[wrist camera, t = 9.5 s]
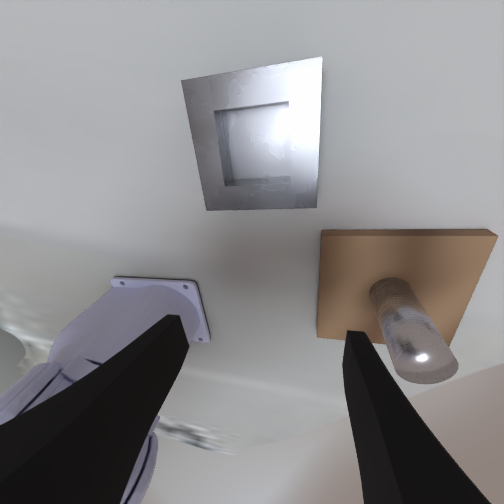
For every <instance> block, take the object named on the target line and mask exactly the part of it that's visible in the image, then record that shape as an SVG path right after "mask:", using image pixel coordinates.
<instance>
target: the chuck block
mask: <svg viewBox="0 0 504 504" xmlns="http://www.w3.org/2000/svg"><path fill="white" fill-rule="evenodd" d="M321 81H322V57H318V58H312V59H306V60H300V61H294V62H288V63H282V64H276V65H270V66H264V67H258V68H252V69H246V70H240V71H235V72H229V73H223V74H217V75H211V76H205V77H199V78H193V79H187V80H181V83H182V88H183V93H184V98H185V103H186V108H187V113H188V118H189V123H190V129H191V134H192V139H193V144H194V149H195V154H196V159H197V164H198V169H199V175H200V180H201V185H202V190H203V195H204V200H205V205H206V210H207V211H214V210H254V209H294V208H317V188H318V161H319V134H320V108H321Z"/></svg>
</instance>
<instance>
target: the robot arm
mask: <svg viewBox="0 0 504 504" xmlns="http://www.w3.org/2000/svg"><path fill="white" fill-rule="evenodd" d="M110 283H111V285H112V287H113V288H111V289H110V290H109V291H108V292H107V293H105V294H104V295H103V296H102V297H101V298H99V299H98V300H97V301H96V302H95V303H94V304H92V305H91V306H90V307H89V308H88V309H87V310H85V311H84V312H83V313H82V314H81V315H79V316H78V317H77V318H76V319H75V320H74V321H72V322H71V323H70V324H69V325H68V326H67V327H66V328H65V329H64V330H63V331H62V332H61V333H60V334H59V335H58V337H57V338H56V340H55V342H54V344H53V345H52V348H51V350H50V353H49V356H48V362H47V363H40V364H38V365H36V366H35V367H34V368H32V369H31V370H30V371H29V372H27V373H26V374H25V375H24V376H23V377H21V378H20V379H19V380H18V381H17V382H16V383H14V384H13V385H12V386H11V387H10V388H9V389H7V390H6V391H5V392H4V393H3V394H2V395H1V396H0V504H140V503H141V501H142V499H143V497H144V495H145V493H146V491H147V489H148V486H149V484H150V481H151V478H152V475H153V472H154V469H155V465H156V458H157V451H158V439H157V436H156V434H155V433H154V432H153V431H154V429H155V427H156V425H157V423H158V421H159V419H160V416H159V415H157V414H158V412H159V410H160V408H161V406H162V404H163V402H164V401H165V399H166V397H167V395H168V393H169V391H170V389H171V387H172V385H173V383H174V381H175V379H176V377H177V375H178V373H179V371H180V369H181V367H182V365H183V362H184V360H185V357H186V354H187V351H188V349H189V345H190V343H191V341H194V342H203V343H208V342H209V341H210V334H209V330H208V326H207V323H206V319H205V315H204V311H203V307H202V303H201V299H200V295H199V291H198V287H197V284H196V283H195V282H193V281H184V280H164V279H144V278H124V277H113V278H112V279H111V280H110ZM186 285H187V286H188V287H187V286H186ZM342 367H343V378H344V388H345V396H346V401H347V406H348V411H349V417H350V422H351V427H352V431H353V437H354V442H355V447H356V453H357V458H358V463H359V469H360V475H361V482H362V491H363V499H364V504H491V503H490V502H489V501H488V500H487V499H486V497H485V496H484V495H483V494H482V493H481V492H480V490H479V489H478V488H477V487H476V486H475V484H474V483H473V482H472V481H471V480H470V479H469V477H468V476H467V475H466V474H465V473H464V471H462V469H461V468H460V467H459V466H458V464H457V463H456V462H455V461H454V459H453V458H452V457H451V456H450V454H449V453H448V452H447V451H446V450H445V448H444V447H443V446H442V445H441V443H440V442H439V441H438V439H437V438H436V437H435V436H434V434H433V433H432V432H431V430H430V429H429V428H428V427H427V425H426V424H425V423H424V421H423V420H422V418H421V417H420V416H419V414H418V413H417V412H416V410H415V409H414V408H413V406H412V405H411V403H410V402H409V401H408V399H407V398H406V396H405V395H404V393H403V392H402V390H401V389H400V388H399V386H398V385H397V383H396V382H395V380H394V379H393V377H392V376H391V374H390V373H389V371H388V369H387V368H386V366H385V365H384V363H383V361H382V360H381V358H380V357H379V355H378V353H377V352H376V350H375V348H374V346H373V345H372V343H371V341H370V339H369V337H368V336H367V334H366V333H365V332H363V331H352V330H347V334H346V341H345V348H344V356H343V363H342Z"/></svg>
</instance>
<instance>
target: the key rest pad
mask: <svg viewBox="0 0 504 504" xmlns="http://www.w3.org/2000/svg"><path fill="white" fill-rule="evenodd" d="M497 238H498V235H496V234H494V233H493V232H491V231H489V230H488V229H443V230H322V233H321V253H320V273H319V292H318V312H317V338H327V339H337V340H346V334H347V330H352V331H363V332H365V333H366V334H367V336H368V337H369V339H370V341H371V343H378V344H386V343H385V340H384V337H383V334H382V331H381V328H380V326H379V323H378V320H377V317H376V314H375V311H374V308H373V306H372V303H371V300H370V297H369V291H370V289H371V287H372V286H373V285H374V284H375V283H376V282H378V281H380V280H382V279H385V278H400V279H403V280H405V281H406V282H408V283H409V285H410V286H411V288H412V289H413V291H414V292H415V294H416V296H417V297H418V299H419V300H420V302H421V304H422V305H423V307H424V308H425V310H426V312H427V313H428V315H429V316H430V318H431V320H432V321H433V323H434V324H435V326H436V328H437V329H438V331H439V332H440V334H441V336H442V337H443V339H444V340H445V342H446V344H447V345H448V347H449V346H450V343H451V341H452V339H453V337H454V335H455V332H456V330H457V328H458V326H459V323H460V321H461V319H462V317H463V314H464V312H465V310H466V308H467V305H468V303H469V301H470V299H471V297H472V294H473V292H474V290H475V288H476V285H477V283H478V281H479V279H480V276H481V274H482V272H483V270H484V267H485V265H486V263H487V261H488V259H489V256H490V254H491V252H492V250H493V247H494V245H495V243H496V241H497Z"/></svg>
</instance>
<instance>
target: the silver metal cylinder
mask: <svg viewBox="0 0 504 504" xmlns="http://www.w3.org/2000/svg"><path fill="white" fill-rule="evenodd" d="M369 297H370V300H371V303H372V306H373V308H374V311H375V314H376V317H377V320H378V323H379V326H380V328H381V331H382V334H383V337H384V340H385V343H386V345H387V348H388V351H389V354H390V357H391V360H392V362H393V365H394V368H395V371H396V373H397V374H398V375H399V376H400V377H401V378H403V379H404V380H407V381H409V382H412V383H417V384H434V383H439V382H442V381H445V380H447V379H449V378H451V377H452V376H453V375H454V374H455V373H456V372H457V370H458V362H457V360H456V358H455V357H454V355H453V353H452V352H451V350H450V348H449V347H448V345H447V344H446V342H445V340H444V339H443V337H442V336H441V334H440V332H439V331H438V329H437V328H436V326H435V324H434V323H433V321H432V320H431V318H430V316H429V315H428V313H427V312H426V310H425V308H424V307H423V305H422V304H421V302H420V300H419V299H418V297H417V296H416V294H415V292H414V291H413V289H412V288H411V286H410V285H409V283H408V282H406V281H405V280H403V279H400V278H385V279H382V280H380V281H378V282H376V283H375V284H374V285H373V286H372V287H371V289H370V291H369Z"/></svg>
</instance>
